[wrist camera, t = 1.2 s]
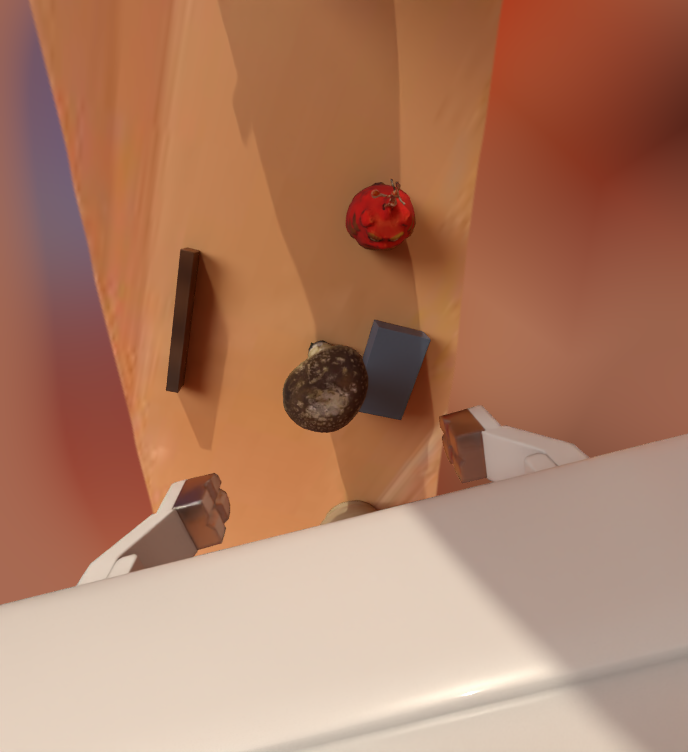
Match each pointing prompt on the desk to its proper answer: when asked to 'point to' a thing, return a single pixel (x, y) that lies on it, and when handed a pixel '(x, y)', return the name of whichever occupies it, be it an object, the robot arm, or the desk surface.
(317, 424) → the mushroom
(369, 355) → the block
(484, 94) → the desk surface
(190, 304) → the ledge
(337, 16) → the desk surface
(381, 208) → the red clay folk toy
